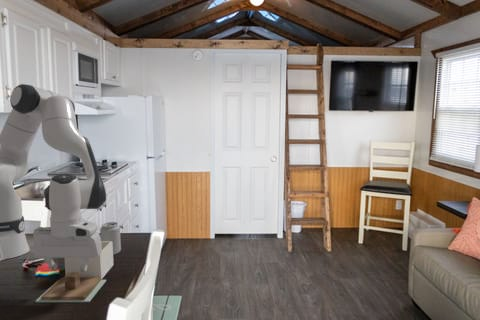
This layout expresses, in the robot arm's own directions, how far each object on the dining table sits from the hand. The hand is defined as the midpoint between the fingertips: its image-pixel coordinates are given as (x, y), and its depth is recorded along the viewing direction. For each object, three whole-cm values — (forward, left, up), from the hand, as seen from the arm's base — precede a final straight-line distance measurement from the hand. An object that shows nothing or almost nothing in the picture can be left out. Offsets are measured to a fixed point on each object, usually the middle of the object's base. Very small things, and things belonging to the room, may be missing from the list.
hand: (68, 270), depth 115 cm
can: (+2, +32, -7) cm, 33 cm away
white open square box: (+1, +14, -7) cm, 16 cm away
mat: (+1, 0, -7) cm, 7 cm away
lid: (+1, 0, -7) cm, 7 cm away
